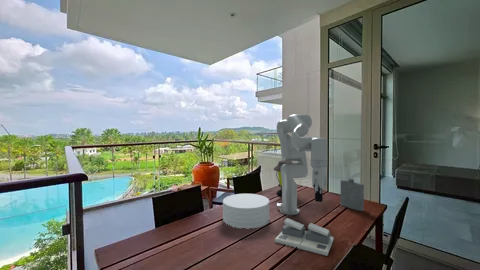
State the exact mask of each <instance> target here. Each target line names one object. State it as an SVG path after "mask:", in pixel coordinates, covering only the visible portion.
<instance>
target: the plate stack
mask: <svg viewBox="0 0 480 270" xmlns="http://www.w3.org/2000/svg"><path fill="white" fill-rule="evenodd" d="M222 221H223V223H224V222H225V223H226V224H225V223H224V224H225V225H227V224H228V225H227V226H229V225H230V226H229V227H231V226H232V227H231V228H235V227H236V229H241V228H246V229H247V230H250V228H252V229H256V228H257V229H258V228H261V227H265V226H266V225H268V223H269V222H270V198H268V197H266V196H264V195H261V194H256V193H236V194H230V195H228V196H225V197H224V198H223V200H222ZM246 229H245V230H246Z"/></svg>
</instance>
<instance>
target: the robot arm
mask: <svg viewBox="0 0 480 270" xmlns="http://www.w3.org/2000/svg"><path fill="white" fill-rule="evenodd" d="M312 124H313V119H312V117H311V116H310V115H309V114H306V113H305V114H299V113H298V114H297V113H296V114H290V115H289V116H288V117H287V119H282V120H279V121H277V123H276V134H277V137H278V139H279V145H280V152H281V153H280V154H281V158H282V159H281V160H283V161H292V163H286V164H283V165H282V166H281V177H282V197H281V203H279V202H276V207H277V208H279V212H280V213H281V214H283V215H289V216H295V215H298V214H300V209H299V208H298V185H297V182H296V181H295V180H294V179H302V178H306V177H308V175H309V168H308V167H309V166H308V158H307V153H306V152H310V167H312V172H311V186H312V188H314V201H315V202H320V203H322V202H323V199H324V198H323V197H324V196H323V195H324V194H323V191H324V190H323V189H324V188H325V187H326V186H327V169H326V168H327V167H328V140H327V138H326V137H320V136H306V135H308V133H309V129H310V128H311V126H312ZM290 134H291V135H290ZM294 162H296V163H294Z"/></svg>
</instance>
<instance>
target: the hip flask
mask: <svg viewBox="0 0 480 270" xmlns="http://www.w3.org/2000/svg"><path fill="white" fill-rule="evenodd" d="M364 187H365V183H361V182H360V183H359V182H355V178H351V177H348V179H347V180H346V179H341V180H340V198H339V199H340V201H339V202H340V206H342V207H345V208H347V209H352V210H354V211H360V212H364V205H365V204H364V203H365V201H364V197H365V195H364V194H365V191H364V189H365V188H364Z"/></svg>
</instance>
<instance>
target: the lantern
mask: <svg viewBox="0 0 480 270" xmlns="http://www.w3.org/2000/svg"><path fill="white" fill-rule="evenodd" d="M286 163H293V161H284V160H283V159H281V160H280V161H278V163H277V165H276V166H274V168H273V171H274V172H276V174H275V175H276V178H277V180H278V184H277V186H278V187H280V189H278V190H277V191H276V193H275V194H276V196H277V195H278V196H277V197H280V196H282V177H281V166H282V165H283V164H286Z"/></svg>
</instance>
